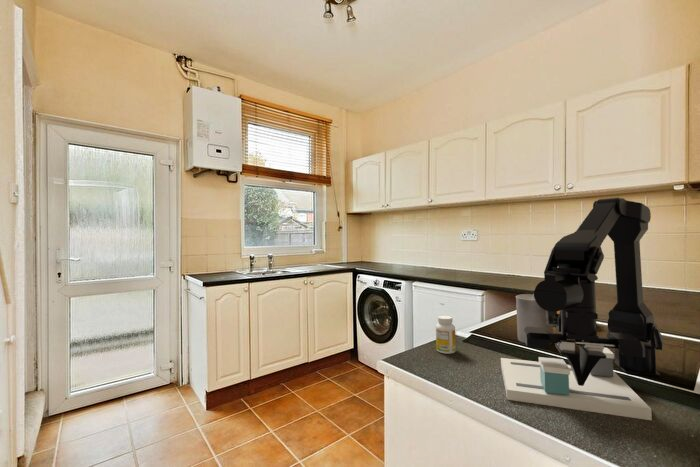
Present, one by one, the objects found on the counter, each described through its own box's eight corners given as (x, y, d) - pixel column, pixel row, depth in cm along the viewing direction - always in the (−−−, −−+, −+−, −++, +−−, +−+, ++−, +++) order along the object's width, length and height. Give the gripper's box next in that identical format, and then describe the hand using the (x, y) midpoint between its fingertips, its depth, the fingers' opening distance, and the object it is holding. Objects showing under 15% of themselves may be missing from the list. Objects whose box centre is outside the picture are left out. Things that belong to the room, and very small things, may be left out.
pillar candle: (545, 336, 105) (543, 289, 105) (559, 346, 95) (557, 295, 95) (513, 336, 106) (511, 290, 107) (523, 345, 97) (521, 295, 97)
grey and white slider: (605, 367, 74) (604, 345, 74) (614, 377, 69) (614, 353, 69) (582, 365, 76) (581, 343, 76) (590, 374, 71) (589, 351, 71)
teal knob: (563, 383, 67) (562, 359, 67) (570, 395, 62) (569, 369, 62) (539, 380, 68) (538, 356, 69) (544, 392, 63) (543, 366, 64)
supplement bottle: (449, 346, 97) (448, 314, 97) (459, 352, 92) (458, 318, 92) (433, 348, 96) (432, 315, 96) (442, 355, 91) (441, 320, 91)
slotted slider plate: (612, 378, 74) (611, 368, 74) (651, 420, 57) (651, 408, 57) (500, 365, 82) (500, 357, 82) (507, 399, 66) (506, 389, 66)
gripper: (619, 299, 68) (621, 374, 68) (519, 295, 75) (521, 363, 74) (645, 311, 57) (648, 399, 57) (526, 305, 64) (528, 384, 64)
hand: (580, 384), depth 63 cm, fingers closed
